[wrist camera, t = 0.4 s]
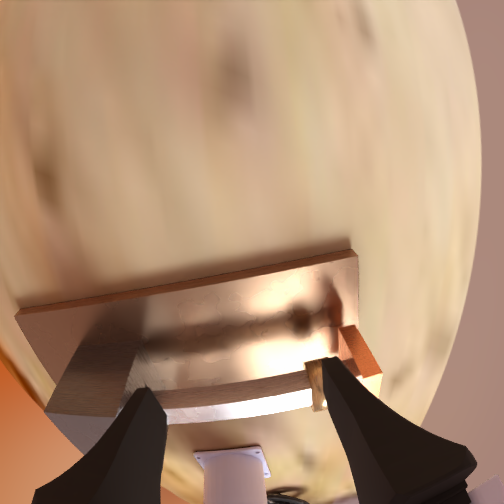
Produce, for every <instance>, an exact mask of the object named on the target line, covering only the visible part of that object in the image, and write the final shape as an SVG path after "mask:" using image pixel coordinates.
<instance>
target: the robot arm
mask: <svg viewBox="0 0 504 504" xmlns="http://www.w3.org/2000/svg"><path fill="white" fill-rule="evenodd" d="M321 362H322V378H323V392H324V396H325V400H326V403H327V407H328V410H329V413H330V416H331V418H332V421H333V423H334V426H335V428H336V430H337V433H338V435H339V438H340V440H341V443H342V445H343V448H344V450H345V452H346V455H347V458H348V461H349V465H350V468H351V472H352V476H353V479H354V483H355V487H356V491H357V495H358V500H359V504H504V485H503V483H502V482H501V480H500V478H499V476H498V475H497V474H495V475H494V476H492V477H491V478H490V479H488V480H487V481H485V482H484V483H482V484H481V485H479V486H478V487H476V488H475V489H473V490H472V491H470V492H469V493H467V491H466V488H467V486H468V485H467V483H466V481H465V479H466V478H467V477H468V476H469V475H470V474H471V473H472V472H473V471H474V469H475V468H476V466H477V462H476V460H475V458H474V457H473V455H472V453H471V452H470V451H469V450H468V448H467V447H466V446H463V445H461V444H457V443H454V442H452V441H449V440H446V439H444V438H441V437H439V436H437V435H434V434H432V433H430V432H428V431H426V430H424V429H423V428H421V427H419V426H417V425H415V424H413V423H411V422H410V421H408V420H407V419H405V418H404V417H402V416H400V415H399V414H398V413H396V412H395V411H393V410H392V409H391V408H389V407H388V406H387V405H385V404H384V403H383V402H382V401H381V400H379V399H378V398H377V397H376V396H375V395H374V394H372V393H371V392H370V391H369V390H368V389H367V388H366V387H365V386H364V385H363V384H362V383H361V382H360V381H359V380H358V379H357V378H356V377H355V376H354V375H353V374H352V373H351V372H350V371H349V369H348V368H347V367H346V366H345V365H344V364H343V362H342V361H341V360H340V359H339V357H337V356H334V357H330V358H326V359H322V360H321ZM166 438H167V414H166V413H165V411H164V410H163V408H162V407H161V405H160V403H159V402H158V400H157V399H156V397H155V396H154V394H153V392H152V391H151V389H150V387H146V388H137V389H136V390H135V392H134V393H133V394H132V396H131V397H130V399H129V400H128V402H127V403H126V405H125V406H124V407H123V409H122V410H121V412H120V413H119V414H118V416H117V417H116V419H115V420H114V421H113V423H112V424H111V426H110V427H109V428H108V429H107V431H106V432H105V433H104V434H103V436H102V437H101V438H100V439H99V441H98V442H97V443H96V444H95V445H94V446H93V447H92V448H91V449H90V450H89V451H88V452H87V453H86V454H85V455H84V456H83V457H82V458H81V459H80V460H79V461H78V462H77V463H75V464H74V465H73V466H72V467H71V468H70V469H68V470H67V471H66V472H64V473H63V474H62V475H60V476H59V477H57V478H56V479H54V480H53V481H51V482H49V483H47V484H45V485H44V486H42V487H40V488H38V489H36V490H35V494H34V497H33V500H32V503H31V504H160V482H161V472H162V465H163V458H164V452H165V445H166ZM193 456H194V457H195V459H196V460H197V461H198V463H199V464H200V465H201V467H202V468H203V469H204V504H268V503H267V495H266V487H265V478H268V477H271V473H270V470H269V468H268V465H267V462H266V460H265V457H264V454H263V451H262V449H261V447H259V446H255V447H247V448H239V449H230V450H219V451H205V452H195V453H194V454H193Z"/></svg>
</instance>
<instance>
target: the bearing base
mask: <svg viewBox="0 0 504 504" xmlns="http://www.w3.org/2000/svg"><path fill="white" fill-rule="evenodd" d="M358 311H359V271H358V255H357V254H356V253H355V252H354V251H353V250H352V249H349V250H344V251H339V252H334V253H329V254H324V255H319V256H314V257H309V258H304V259H299V260H294V261H289V262H284V263H279V264H274V265H269V266H264V267H259V268H253V269H248V270H243V271H238V272H232V273H227V274H222V275H216V276H211V277H206V278H200V279H195V280H189V281H184V282H178V283H173V284H167V285H162V286H156V287H150V288H145V289H139V290H133V291H127V292H122V293H116V294H110V295H104V296H98V297H92V298H86V299H80V300H74V301H68V302H62V303H56V304H49V305H43V306H37V307H30V308H24V309H20V310H19V311H18V312H17V313H16V315H15V316H14V317H15V319H16V321H17V323H18V324H19V326H20V328H21V330H22V332H23V333H24V335H25V337H26V339H27V340H28V342H29V344H30V345H31V347H32V349H33V350H34V352H35V354H36V355H37V357H38V358H39V360H40V362H41V363H42V365H43V366H44V368H45V369H46V371H47V372H48V374H49V375H50V377H51V378H52V379H53V381H54V382H55V384H56V385H57V386H56V388H55V390H54V392H53V394H52V396H51V398H50V400H49V402H48V404H47V406H46V408H45V410H44V413H45V414H46V415H47V416H48V418H49V419H50V420H51V421H52V422H53V423H54V424H55V425H56V427H57V428H58V429H59V430H60V431H61V432H62V433H63V434H64V435H65V436H66V437H67V438H68V439H69V440H70V441H71V442H72V444H74V446H76V447H77V448H78V449H79V450H80V451H81V452H82V453H83V454H84V455H85V454H86V453H87V452H88V451H89V450H90V449H91V448H92V447H93V446H94V445H95V444H96V443H97V442H98V441H99V439H100V438H101V437H102V436H103V434H104V433H105V432H106V431H107V429H108V428H109V427H110V426H111V424H112V423H113V421H114V420H115V419H116V417H117V416H118V414H119V413H120V412H121V410H122V409H123V407H124V406H125V405H126V403H127V402H128V400H129V399H130V397H131V396H132V394H133V393H134V392H135V390H136V389H137V388H146V387H150V389H151V391H161V390H174V389H185V388H195V387H204V386H213V385H220V384H228V383H235V382H241V381H248V380H254V379H260V378H265V377H271V376H276V375H281V374H286V373H291V372H296V371H301V370H304V369H303V362H306V361H310V360H315V359H319V358H323V357H329V358H330V357H334V356H337V357H339V337H338V328H341V327H345V326H349V325H353V324H355V326H356V327H357V329H358ZM168 425H169V424H167V432H168ZM166 439H167V438H166ZM165 446H166V445H165ZM164 453H165V452H164ZM163 461H164V458H163ZM162 469H163V465H162Z"/></svg>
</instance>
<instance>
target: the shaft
mask: <svg viewBox="0 0 504 504" xmlns="http://www.w3.org/2000/svg"><path fill="white" fill-rule="evenodd" d="M338 337H339V359H340V360H341V361H342V362H343V364H344V365H345V366H346V367H347V368H348V369H349V371H350V372H351V373H352V374H353V375H354V376H355V377H356V378H357V379H358V380H359V381H360V382H361V383H362V384H363V385H364V386H365V387H366V388H367V389H368V390H369V391H370V392H371V393H372V394H374V395H375V396H376V397H377V398H378V396H379V391H380V385H381V380H382V374H383V373H382V371H381V369H380V367H379V365H378V364H377V362H376V360H375V358H374V357H373V355H372V353H371V351H370V350H369V348H368V346H367V344H366V343H365V341H364V339H363V338H362V336H361V334H360V332H359V331H358V329H357V327H356V326H355V324H353V325H349V326H345V327H341V328H338ZM326 358H329V357H323V358H319V359H315V360H310V361H306V362H303V369H304V370H301V371H296V372H291V373H286V374H281V375H276V376H271V377H265V378H260V379H254V380H248V381H241V382H235V383H228V384H220V385H213V386H204V387H195V388H185V389H174V390H161V391H152V392H153V394H154V396H155V397H156V399H157V400H158V402H159V403H160V405H161V407H162V408H163V410H164V411H165V413H166V414H167V424H184V423H199V422H210V421H220V420H229V419H237V418H244V417H251V416H258V415H264V414H270V413H276V412H281V411H286V410H291V409H296V408H301V407H305V406H310V405H311V407H312V410H313V412H318V411H322V410H326V409H328V407H327V403H326V400H325V396H324V392H323V378H322V362H321V360H322V359H326Z"/></svg>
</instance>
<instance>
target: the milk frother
mask: <svg viewBox="0 0 504 504" xmlns="http://www.w3.org/2000/svg"><path fill="white" fill-rule="evenodd" d="M267 503H268V504H309V503H308V502H306V501H304V500H301V499H298V498H294V497H290V496H287V495H282V494H280V493H279V494H278V495H269V496H267Z"/></svg>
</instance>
